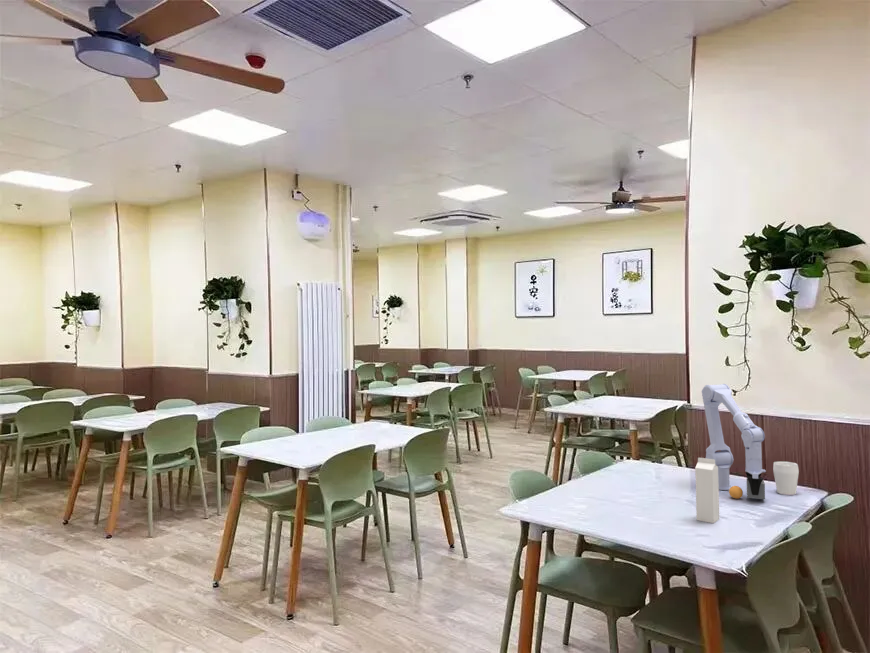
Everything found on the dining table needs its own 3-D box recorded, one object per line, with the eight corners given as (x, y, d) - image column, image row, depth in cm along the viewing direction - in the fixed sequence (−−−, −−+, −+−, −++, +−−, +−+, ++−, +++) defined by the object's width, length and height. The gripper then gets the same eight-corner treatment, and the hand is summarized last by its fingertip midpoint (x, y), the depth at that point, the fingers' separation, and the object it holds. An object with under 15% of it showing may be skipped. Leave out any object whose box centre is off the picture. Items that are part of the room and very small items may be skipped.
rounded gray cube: (747, 497, 237) (747, 482, 237) (746, 493, 243) (746, 478, 243) (764, 499, 235) (764, 483, 235) (763, 495, 240) (763, 480, 240)
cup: (792, 490, 252) (791, 461, 252) (803, 496, 243) (802, 466, 243) (769, 490, 253) (769, 461, 253) (780, 496, 244) (779, 466, 244)
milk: (702, 516, 221) (700, 455, 221) (719, 519, 217) (718, 458, 217) (696, 520, 217) (694, 458, 217) (714, 523, 212) (712, 460, 213)
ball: (745, 492, 238) (739, 502, 239) (745, 489, 243) (738, 499, 244) (733, 485, 240) (726, 495, 241) (732, 482, 244) (726, 492, 245)
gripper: (766, 462, 231) (767, 498, 231) (763, 455, 244) (764, 488, 244) (746, 461, 234) (747, 496, 234) (743, 454, 247) (744, 487, 247)
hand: (754, 492), depth 239 cm, fingers closed on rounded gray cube, 6 cm apart
